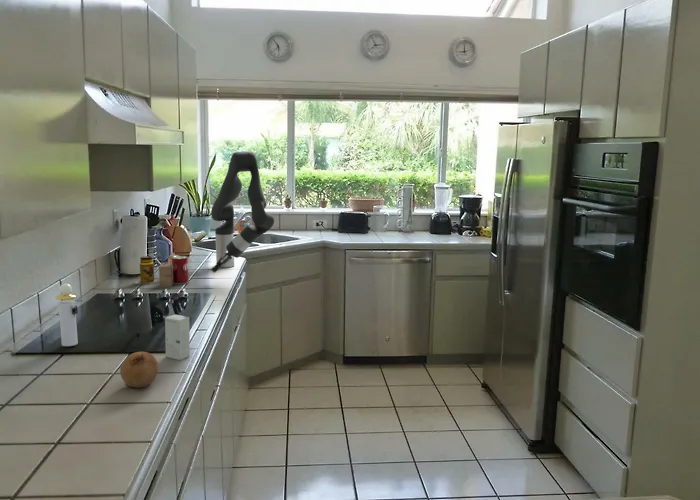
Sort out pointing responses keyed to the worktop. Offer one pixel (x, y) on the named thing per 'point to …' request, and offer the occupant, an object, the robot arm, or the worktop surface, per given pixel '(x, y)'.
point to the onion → (139, 369)
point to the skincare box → (177, 337)
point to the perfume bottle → (67, 316)
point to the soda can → (180, 270)
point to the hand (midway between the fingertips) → (213, 271)
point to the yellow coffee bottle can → (146, 270)
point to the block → (165, 275)
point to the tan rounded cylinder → (170, 259)
